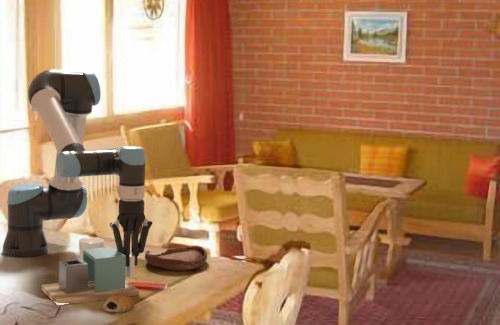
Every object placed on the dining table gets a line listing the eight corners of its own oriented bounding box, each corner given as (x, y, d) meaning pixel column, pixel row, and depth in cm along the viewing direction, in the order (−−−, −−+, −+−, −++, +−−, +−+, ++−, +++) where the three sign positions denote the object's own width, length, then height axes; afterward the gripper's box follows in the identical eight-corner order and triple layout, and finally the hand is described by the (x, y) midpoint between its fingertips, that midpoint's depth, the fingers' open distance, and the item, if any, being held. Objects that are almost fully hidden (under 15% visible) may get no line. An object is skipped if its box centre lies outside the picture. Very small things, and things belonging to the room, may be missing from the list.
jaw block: (59, 287, 221) (59, 260, 220) (80, 285, 224) (80, 258, 223) (65, 294, 216) (66, 266, 215) (87, 291, 219) (88, 264, 218)
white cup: (98, 274, 241) (98, 243, 240) (74, 272, 243) (74, 241, 241) (107, 268, 249) (108, 238, 247) (84, 266, 250) (85, 236, 249)
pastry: (120, 301, 216) (120, 288, 216) (140, 306, 213) (141, 292, 213) (100, 311, 208) (101, 297, 207) (121, 315, 205) (122, 301, 204)
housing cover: (82, 281, 227) (82, 249, 226) (111, 278, 232) (111, 246, 231) (95, 292, 218) (95, 258, 216) (125, 288, 222) (125, 255, 221)
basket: (172, 253, 273) (172, 239, 272) (220, 262, 263) (220, 248, 262) (132, 266, 253) (133, 252, 252) (182, 277, 243) (183, 262, 243)
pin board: (41, 289, 224) (41, 274, 223) (118, 280, 236) (119, 266, 235) (57, 305, 210) (57, 289, 209) (138, 295, 222) (139, 280, 222)
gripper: (115, 202, 219) (114, 282, 222) (157, 199, 226) (155, 277, 229) (106, 198, 226) (105, 275, 229) (147, 195, 232) (145, 271, 235)
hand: (130, 276), depth 229 cm, fingers closed
